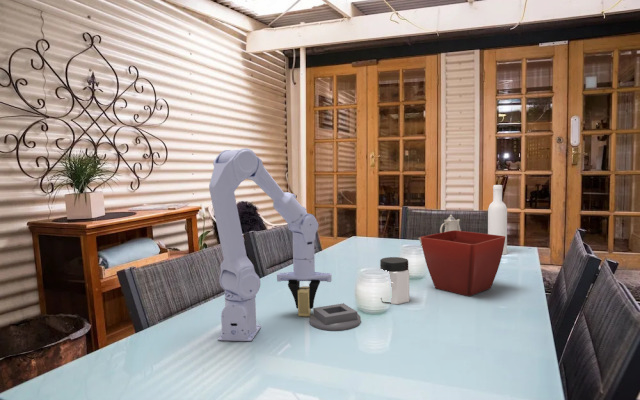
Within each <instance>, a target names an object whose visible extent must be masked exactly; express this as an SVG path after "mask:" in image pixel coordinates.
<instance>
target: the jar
mask: <svg viewBox="0 0 640 400" xmlns="http://www.w3.org/2000/svg"><path fill="white" fill-rule="evenodd" d="M379 261H380V262H379V263H380V264H379V265H380V267H379V270H380V269H383V270H384V271H385V270H387V272H388V271H389V274H390V279H391V287H392V298H391V304H392V305H402V304H406V303H409V302H410V269H409V259H407V258H405V257H400V256H399V257H397V256H392V257H391V256H390V257H389V256H388V257H382V258H381V259H380V260H379Z"/></svg>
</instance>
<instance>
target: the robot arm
mask: <svg viewBox="0 0 640 400" xmlns="http://www.w3.org/2000/svg"><path fill="white" fill-rule="evenodd" d="M212 163H213V169H212V173H211V176H210V177H211V178H210V181H209V195H210V199H211V204H212V208H213V215H214V219H215V223H216V228H217V232H218V238H219V243H220V247H221V252H222V256H223V260H222V262H221V264H220V265H219V267H220V275H219V279H218V280H219V281H218V282H219V285H220V287H221V288H222V289H223V290H224V302H225V303H224V307H223V309H222V311H221V315H220V317H221V319H220V320H221V334H220V336H219V337H218V338H217V339H218V341H229V342H231V341H234V342H235V341H236V342H237V341H238V342H251V341H253V340H254V338H255V336H256V335H257V334H258V332H259V331H260V329H261V327H262V325H261V324H257V311H256V310H257V308H256V305H257V304H256V303H257V302H256V298H257V294H258V292H260V289H261V278H260V276H259V275H258V274H257V273H256V270H255V266H254V264H253V263H252V261H251V260H250V259H249V257H248V256H247V249H246V246H245V240H244V235H243V231H242V225H241V220H240V215H239V210H238V204H237V199H236V194H235V192H236V191H237V189H238V187H239V186H240V185H241V183H242V182H244V181H245V180H250V181H253V183H255V184H256V185H257V186H258V187H259V188H260V189H261V190H262V191H263V192H264V193H265V194H266V195H267V196H268V197H269V198H270V199H271V200H272V201H273V204H272V207H273V209H275V211H276V212H277V213H278V215H280V216H281V217H282V219H283V220H284V221H285V222H286V223H287V224H286V225H287V228H288V231H290V232H291V233H292V258H293V259H292V262H293V263H292V265H293V269H292V270H293V271H289V272H278V273H277V274H276V282H277V283H278V282H288V283H287V286H288V289H289V290H290V292H291V295H292V296H293V301H294V303H295V307H296V308H295V309H297V310H298V289H299V288H300V287H301V286H300V282H309V283H308V287H309V289H310V309H311V310H313V308H314V303H315V299H316V293H317V291H318V288H319V286H320V283H321V282H326V283H331V282H332V279H333V278H332V272H319V271H315V269H316V266H315V259H316V257H315V241H316V235H317V234H316V233H317V232H318V230H319V223H318V221H317V219H316V217H315V216H314V215H313V214H312V213H308V212H307V208H306V207H305V206H302V205H301V203H300V202H299V201H298V200H297V199H296V198H297V195H295V193H291V192H288V191H285V192H284V191H283V189H282V188H281V187H280V185H279V184H278V183H277V181H276V180H275V179H274V178H273V177H272V175H271V174H270V172H269V171H268V170H267V168H265V166H264V163H263V161H262V159H261V158H260V157H258V156H257V155H256V153H255V152H254V151H253V150H252V149H250V148H247V147H246V148H241V149H240V148H239V149H226V150H225V149H224V150H223V151H221V152H220V153H218V155H217V156H216V158H215V159H214V160H213V162H212Z"/></svg>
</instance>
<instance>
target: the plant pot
mask: <svg viewBox="0 0 640 400" xmlns="http://www.w3.org/2000/svg"><path fill="white" fill-rule="evenodd" d="M420 238H421V243H422V247H421V248H422V252H423V253H422V254H423V255H424V259H425V264H426V267H427V269H428V273H429V276H430V278H431V281H432V285H433V286H434V288H435V289H438V290H442V291H446V292H451V293H455V294H458V295H463V296H466V297H471V296H473V295H476V294H479V293H481V292H484V291H487V290H489V289H491V288H492V285H493V284H494V281H495V278H496V276H497V274H498V270H499V268H500V263H501V260H502V258H503V257H502V256H503V255H502V253H503V248H504V243H505V236H499V235H491V234H488V233H482V232H481V233H480V232H471V231H464V230H461V231H457V230H453V231H447V232H444V231H442V233H440V232H439V233H433V234H427V235H424V236H423V235H422V236H420ZM421 243H420V244H421Z"/></svg>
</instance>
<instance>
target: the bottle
mask: <svg viewBox="0 0 640 400" xmlns="http://www.w3.org/2000/svg"><path fill="white" fill-rule="evenodd" d="M492 191H493V192H492V194H493V195H492V201H491V203H489V206H488V208H487V234H491V235H499V236H505V243H504V248H503V253H502V256H506V255H507V253H508V207H507V205H506V203H505V202H504V201H503V185H502V184H494V185H492Z"/></svg>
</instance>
